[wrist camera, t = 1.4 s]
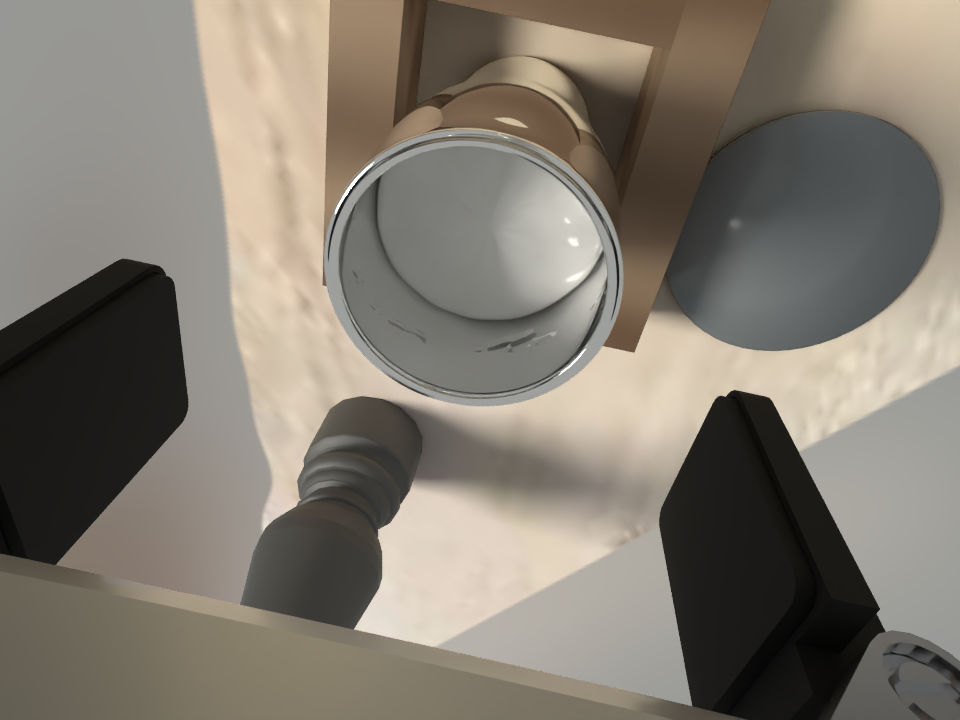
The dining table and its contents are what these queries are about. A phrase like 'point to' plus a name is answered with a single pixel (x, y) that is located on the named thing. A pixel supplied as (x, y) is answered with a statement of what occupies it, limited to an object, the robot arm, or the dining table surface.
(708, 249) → the coaster
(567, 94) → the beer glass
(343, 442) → the candle holder
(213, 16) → the dining table surface
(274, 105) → the dining table surface
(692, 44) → the frame
